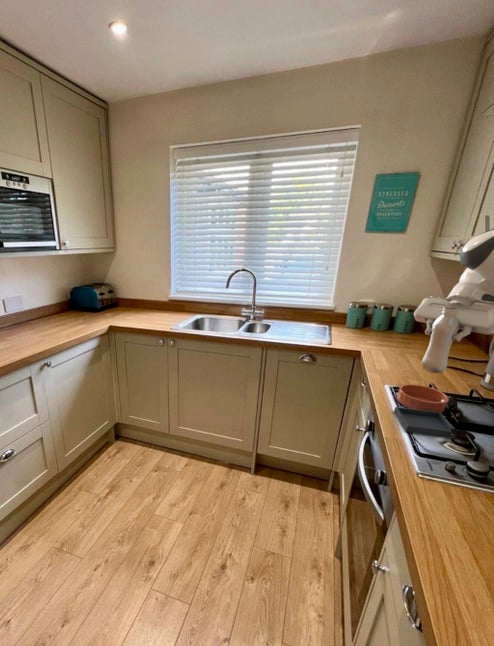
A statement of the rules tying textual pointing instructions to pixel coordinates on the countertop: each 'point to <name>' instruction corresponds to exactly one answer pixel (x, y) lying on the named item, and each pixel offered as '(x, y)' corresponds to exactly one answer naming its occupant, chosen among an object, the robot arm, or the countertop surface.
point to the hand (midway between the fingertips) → (441, 336)
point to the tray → (423, 422)
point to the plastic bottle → (441, 341)
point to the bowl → (422, 398)
